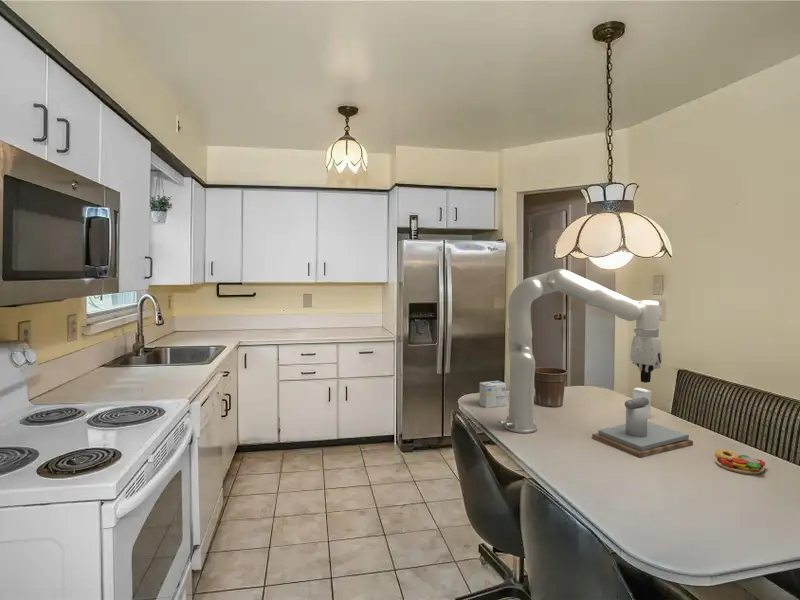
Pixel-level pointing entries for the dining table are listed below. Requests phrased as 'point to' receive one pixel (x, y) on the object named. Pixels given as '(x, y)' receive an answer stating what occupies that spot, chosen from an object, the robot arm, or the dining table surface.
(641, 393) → the skincare box
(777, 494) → the dining table surface
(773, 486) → the dining table surface
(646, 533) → the dining table surface
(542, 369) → the plant pot
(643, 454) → the walnut base
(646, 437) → the tilting top
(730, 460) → the toy food set
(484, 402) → the light bulb box
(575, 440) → the dining table surface
